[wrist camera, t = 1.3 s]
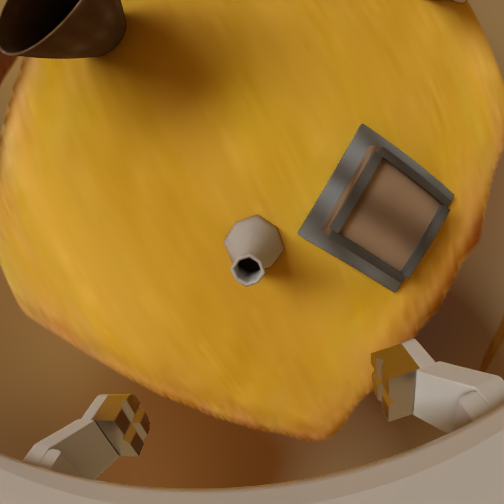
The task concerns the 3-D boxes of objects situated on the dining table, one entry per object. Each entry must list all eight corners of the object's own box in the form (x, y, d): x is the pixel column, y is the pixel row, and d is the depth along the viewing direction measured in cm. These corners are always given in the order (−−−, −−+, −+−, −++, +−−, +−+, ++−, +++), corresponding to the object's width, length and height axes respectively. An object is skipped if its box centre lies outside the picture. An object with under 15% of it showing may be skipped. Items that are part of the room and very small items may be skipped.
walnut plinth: (360, 124, 34) (373, 119, 29) (450, 193, 35) (470, 198, 30) (297, 232, 38) (301, 242, 34) (392, 289, 40) (405, 305, 35)
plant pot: (123, -20, 29) (73, -69, 13) (170, 27, 32) (120, -29, 16) (53, 44, 32) (-13, 19, 17) (89, 99, 35) (13, 81, 19)
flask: (258, 204, 38) (253, 218, 28) (294, 249, 39) (300, 277, 29) (214, 239, 39) (195, 263, 30) (249, 281, 41) (242, 317, 31)
